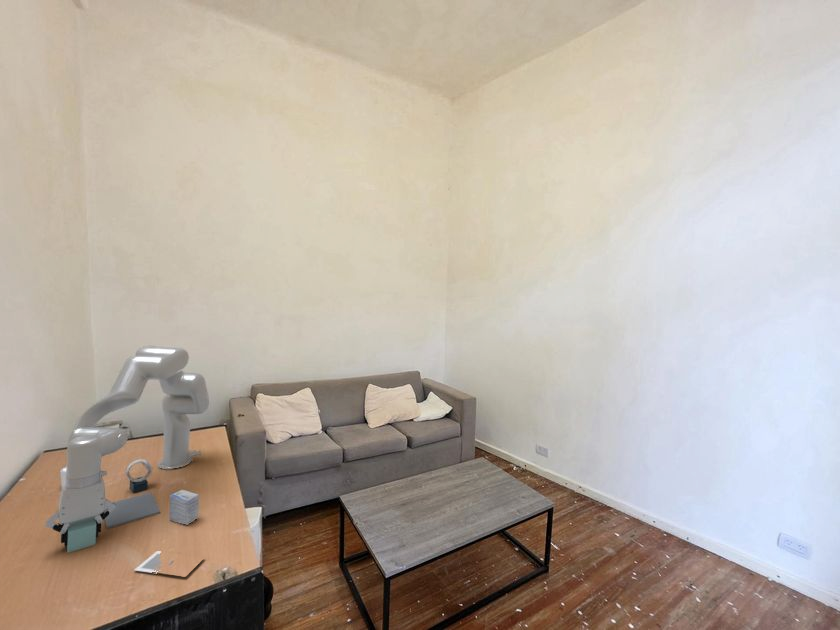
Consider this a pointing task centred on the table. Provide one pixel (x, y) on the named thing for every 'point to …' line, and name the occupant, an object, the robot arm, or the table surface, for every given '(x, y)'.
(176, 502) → the medicine box
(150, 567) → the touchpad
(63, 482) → the white cylinder
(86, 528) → the cube
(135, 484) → the watch
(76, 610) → the table surface
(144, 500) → the mat
